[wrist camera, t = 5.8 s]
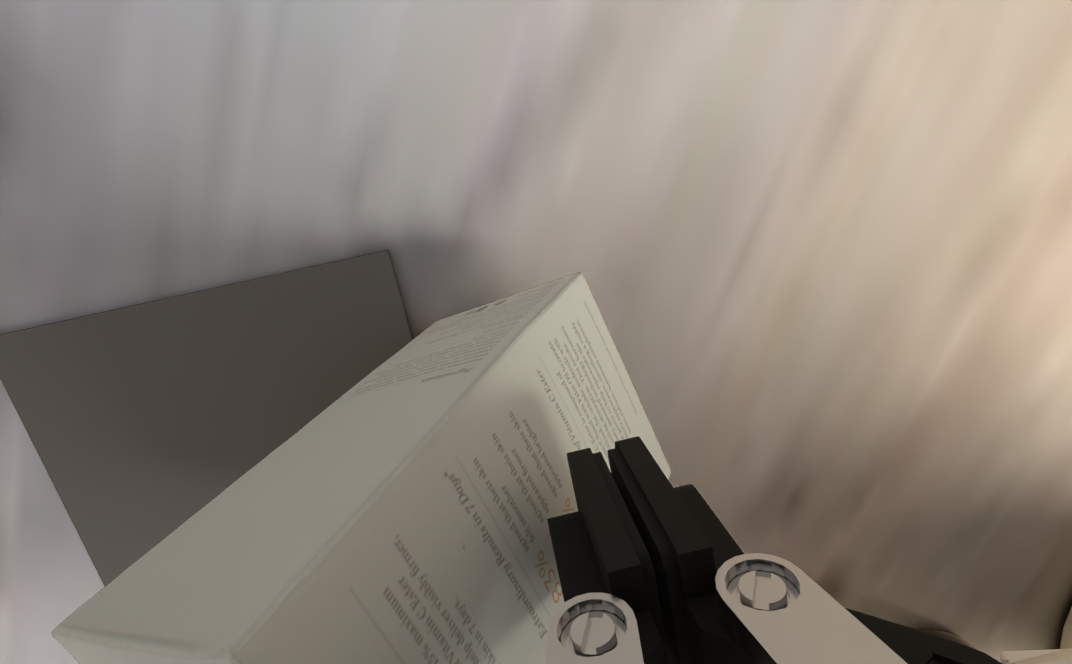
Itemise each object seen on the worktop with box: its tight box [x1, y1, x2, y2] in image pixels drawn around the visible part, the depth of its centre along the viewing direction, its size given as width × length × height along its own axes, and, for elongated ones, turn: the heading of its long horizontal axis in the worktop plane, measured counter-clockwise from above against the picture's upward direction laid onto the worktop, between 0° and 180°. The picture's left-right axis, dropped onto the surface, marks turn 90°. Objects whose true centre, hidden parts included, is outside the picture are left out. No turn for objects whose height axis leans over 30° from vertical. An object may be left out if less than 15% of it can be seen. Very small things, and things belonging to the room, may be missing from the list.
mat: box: [0, 250, 413, 587], centre depth 20 cm, size 12×14×1 cm
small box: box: [52, 272, 671, 664], centre depth 14 cm, size 8×6×13 cm
